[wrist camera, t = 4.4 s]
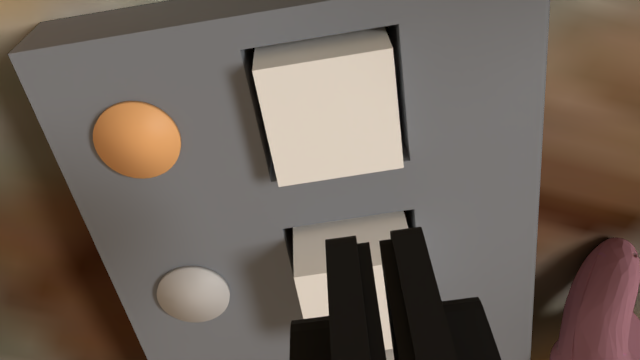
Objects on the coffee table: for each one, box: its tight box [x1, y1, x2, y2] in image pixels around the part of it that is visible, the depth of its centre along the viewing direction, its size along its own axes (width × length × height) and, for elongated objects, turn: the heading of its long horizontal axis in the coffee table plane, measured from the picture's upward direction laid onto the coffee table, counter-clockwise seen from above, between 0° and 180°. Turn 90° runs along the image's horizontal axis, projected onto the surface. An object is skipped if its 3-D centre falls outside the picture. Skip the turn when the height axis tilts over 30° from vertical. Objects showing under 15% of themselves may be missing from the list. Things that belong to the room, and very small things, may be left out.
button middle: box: [293, 211, 408, 350], centre depth 20 cm, size 4×4×3 cm
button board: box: [8, 0, 550, 360], centre depth 21 cm, size 14×18×3 cm
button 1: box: [252, 27, 404, 187], centre depth 18 cm, size 4×4×3 cm
